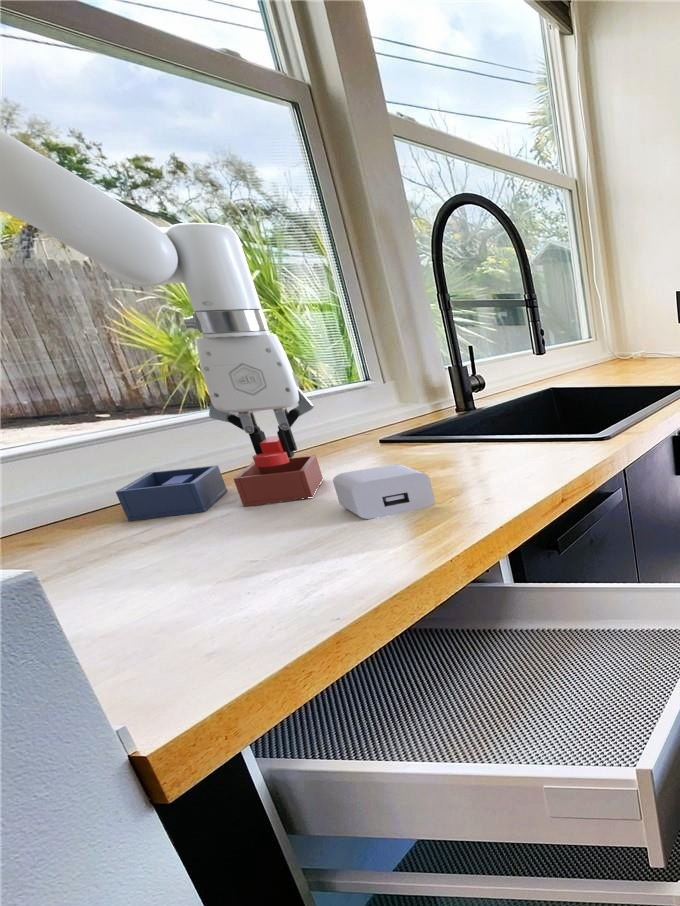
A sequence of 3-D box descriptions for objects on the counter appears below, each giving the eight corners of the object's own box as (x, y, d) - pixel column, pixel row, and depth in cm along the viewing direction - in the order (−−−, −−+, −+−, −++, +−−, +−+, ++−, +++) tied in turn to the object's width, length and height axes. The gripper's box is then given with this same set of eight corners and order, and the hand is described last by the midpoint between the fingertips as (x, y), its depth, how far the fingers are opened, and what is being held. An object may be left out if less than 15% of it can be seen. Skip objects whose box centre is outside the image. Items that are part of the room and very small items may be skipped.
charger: (399, 488, 103) (436, 505, 93) (329, 501, 97) (360, 521, 87) (391, 457, 101) (427, 471, 91) (318, 468, 95) (349, 484, 85)
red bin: (243, 506, 96) (233, 478, 94) (261, 487, 107) (252, 461, 105) (312, 498, 99) (304, 470, 98) (323, 480, 110) (315, 455, 108)
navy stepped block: (188, 507, 94) (180, 487, 93) (151, 512, 93) (143, 492, 92) (207, 491, 103) (200, 473, 102) (174, 495, 101) (166, 477, 100)
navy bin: (128, 521, 91) (115, 491, 89) (159, 499, 102) (148, 472, 100) (205, 511, 94) (194, 482, 93) (227, 491, 105) (218, 465, 103)
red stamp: (287, 464, 98) (280, 444, 97) (253, 468, 96) (245, 448, 95) (298, 452, 106) (291, 434, 105) (266, 455, 105) (260, 437, 103)
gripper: (151, 328, 89) (206, 470, 97) (298, 322, 96) (338, 455, 103) (169, 327, 95) (219, 460, 103) (305, 322, 102) (343, 447, 109)
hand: (278, 456), depth 103 cm, fingers closed on red stamp, 2 cm apart
